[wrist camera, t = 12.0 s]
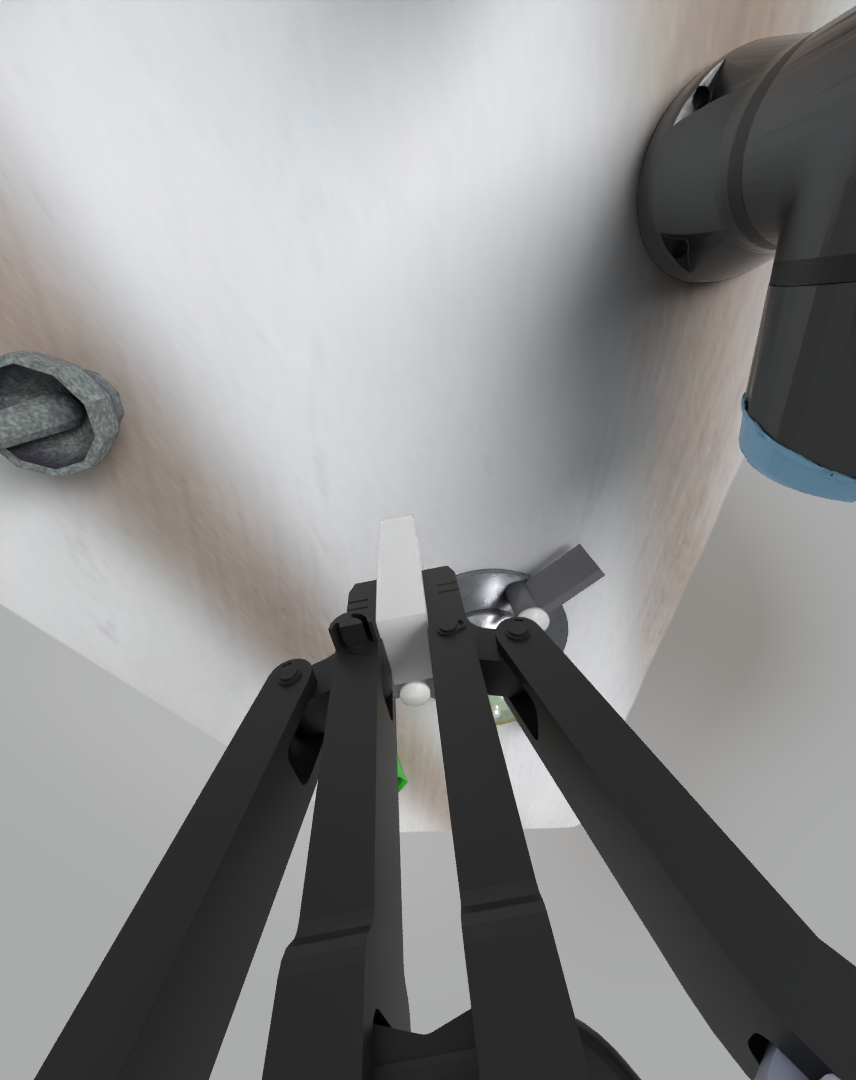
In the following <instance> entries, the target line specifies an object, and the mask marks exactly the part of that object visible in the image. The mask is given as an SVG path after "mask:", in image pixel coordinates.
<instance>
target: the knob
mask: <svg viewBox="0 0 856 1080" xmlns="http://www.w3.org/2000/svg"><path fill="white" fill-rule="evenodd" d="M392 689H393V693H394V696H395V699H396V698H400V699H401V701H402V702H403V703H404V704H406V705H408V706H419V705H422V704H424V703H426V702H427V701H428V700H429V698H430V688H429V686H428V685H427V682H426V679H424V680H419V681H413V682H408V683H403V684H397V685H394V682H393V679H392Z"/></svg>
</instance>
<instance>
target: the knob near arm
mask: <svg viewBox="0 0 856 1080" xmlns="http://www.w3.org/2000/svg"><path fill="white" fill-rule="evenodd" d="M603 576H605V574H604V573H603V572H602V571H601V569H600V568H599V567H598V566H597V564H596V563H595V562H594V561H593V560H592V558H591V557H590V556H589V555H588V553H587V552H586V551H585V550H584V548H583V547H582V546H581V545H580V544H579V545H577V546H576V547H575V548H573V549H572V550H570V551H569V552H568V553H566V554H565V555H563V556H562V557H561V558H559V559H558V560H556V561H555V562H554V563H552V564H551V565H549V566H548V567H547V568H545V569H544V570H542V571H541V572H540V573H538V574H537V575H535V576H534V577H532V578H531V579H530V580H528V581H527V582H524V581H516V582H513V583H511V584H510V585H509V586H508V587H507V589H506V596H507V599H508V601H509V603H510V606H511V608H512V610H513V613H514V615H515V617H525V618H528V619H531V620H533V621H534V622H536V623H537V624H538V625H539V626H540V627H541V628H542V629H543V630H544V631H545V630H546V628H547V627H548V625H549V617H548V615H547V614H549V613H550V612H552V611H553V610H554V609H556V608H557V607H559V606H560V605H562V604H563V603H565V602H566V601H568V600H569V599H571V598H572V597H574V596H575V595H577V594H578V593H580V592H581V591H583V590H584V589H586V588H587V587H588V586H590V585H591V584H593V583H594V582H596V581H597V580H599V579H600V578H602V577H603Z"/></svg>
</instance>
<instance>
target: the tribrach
mask: <svg viewBox="0 0 856 1080" xmlns="http://www.w3.org/2000/svg"><path fill="white" fill-rule="evenodd" d="M531 578H532V577H531V576H528V575H526V574H523V573H520V572H516V571H512V570H504V569H483V570H475V571H470V572H466V573H462V574H459V575H456V579H457V583H458V587H459V591H460V594H461V598H462V602H463V606H464V610H465V614H466V616H467V619H468V620H469V621H470V622H471V623H473V624H474V625H476V626H479V627H483V628H493V629H496V627H497V626H498V625H499V623H500V622H502V621H504V620H505V619H507V618H512V617H515V615H514V613H513V610H512V608H511V606H510V603H509V601H508V599H507V596H506V589H507V587H508V586H509V585H510V584H511V583H513V582H516V581H524V582H527V581H528V580H530V579H531ZM547 615H548V617H549V625H548V627H547V628H546V630H545V633H546V634H547V635H548V636H549V637H550V638H551V639H552V640H553V642H554V643H555V644H556V645H557V646H558V647H559V648H560V649H561V651H562V652H563V650H564V648H565V645H566V642H567V636H568V622H567V617H566V613H565V611H564V609H563V606H562V605H560V606H559V607H557V608H556V609H554V610H553V611H552V612H550V613H549V614H547ZM426 682H427V685H428V686H429V688H430V697H432V698H435V690H434V682H433V678H429V679H426ZM488 697H489V701H490V705H491V709H492V713H493V716H494V720H495V724H496V725H499V724H505V723H508V722H511V721H514V720H516V718H515V717H514V715H513V714H512V712H511V710H510V709H509V707H508V706H507V704H506V702H505V701H504V698H503V696H493V695H488ZM435 699H436V698H435Z"/></svg>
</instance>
